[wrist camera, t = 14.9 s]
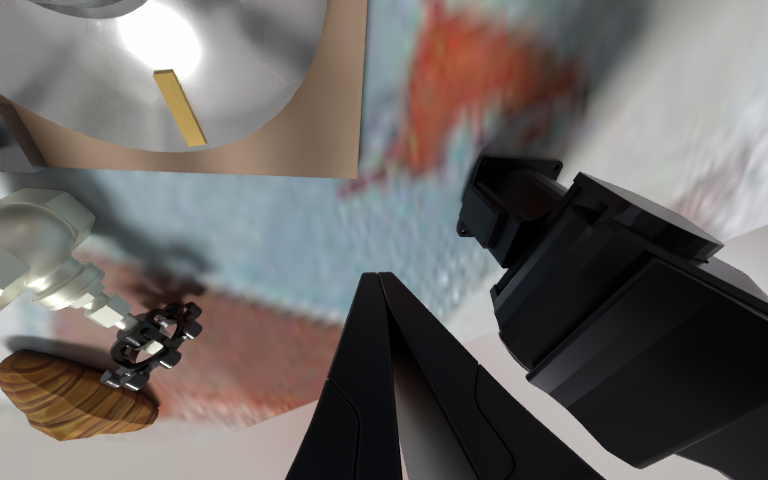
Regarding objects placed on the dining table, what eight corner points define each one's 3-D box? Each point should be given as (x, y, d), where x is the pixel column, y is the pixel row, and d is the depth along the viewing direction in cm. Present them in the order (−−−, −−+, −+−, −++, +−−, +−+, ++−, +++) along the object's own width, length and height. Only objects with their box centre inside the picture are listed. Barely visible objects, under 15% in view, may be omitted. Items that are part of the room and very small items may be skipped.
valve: (-28, 204, 16) (144, 323, 23) (-201, 286, 11) (91, 407, 18) (73, 162, 16) (216, 296, 23) (-56, 225, 10) (183, 374, 18)
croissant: (186, 396, 30) (165, 451, 26) (133, 417, 31) (104, 473, 27) (54, 329, 22) (-6, 392, 18) (-14, 359, 23) (-86, 426, 19)
